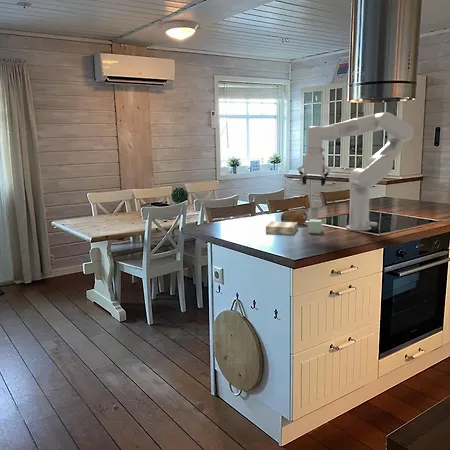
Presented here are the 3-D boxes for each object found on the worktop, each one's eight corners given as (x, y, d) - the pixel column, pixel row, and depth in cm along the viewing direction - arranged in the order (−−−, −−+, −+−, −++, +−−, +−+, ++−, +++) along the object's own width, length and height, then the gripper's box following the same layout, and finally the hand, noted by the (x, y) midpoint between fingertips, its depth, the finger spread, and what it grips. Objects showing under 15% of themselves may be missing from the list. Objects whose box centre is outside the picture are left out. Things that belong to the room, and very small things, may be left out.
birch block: (297, 229, 249) (297, 222, 248) (293, 235, 236) (293, 227, 235) (271, 228, 253) (271, 221, 253) (265, 234, 240) (265, 226, 240)
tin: (282, 226, 257) (282, 211, 256) (280, 225, 260) (279, 210, 259) (307, 224, 261) (307, 209, 259) (304, 223, 264) (304, 208, 262)
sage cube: (321, 231, 242) (321, 219, 241) (320, 233, 237) (320, 221, 236) (310, 230, 244) (310, 219, 243) (308, 233, 239) (308, 221, 237)
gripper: (333, 151, 234) (332, 185, 237) (301, 150, 243) (300, 183, 246) (329, 151, 228) (327, 186, 231) (295, 151, 236) (294, 184, 240)
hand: (313, 185), depth 239 cm, fingers open, 9 cm apart
